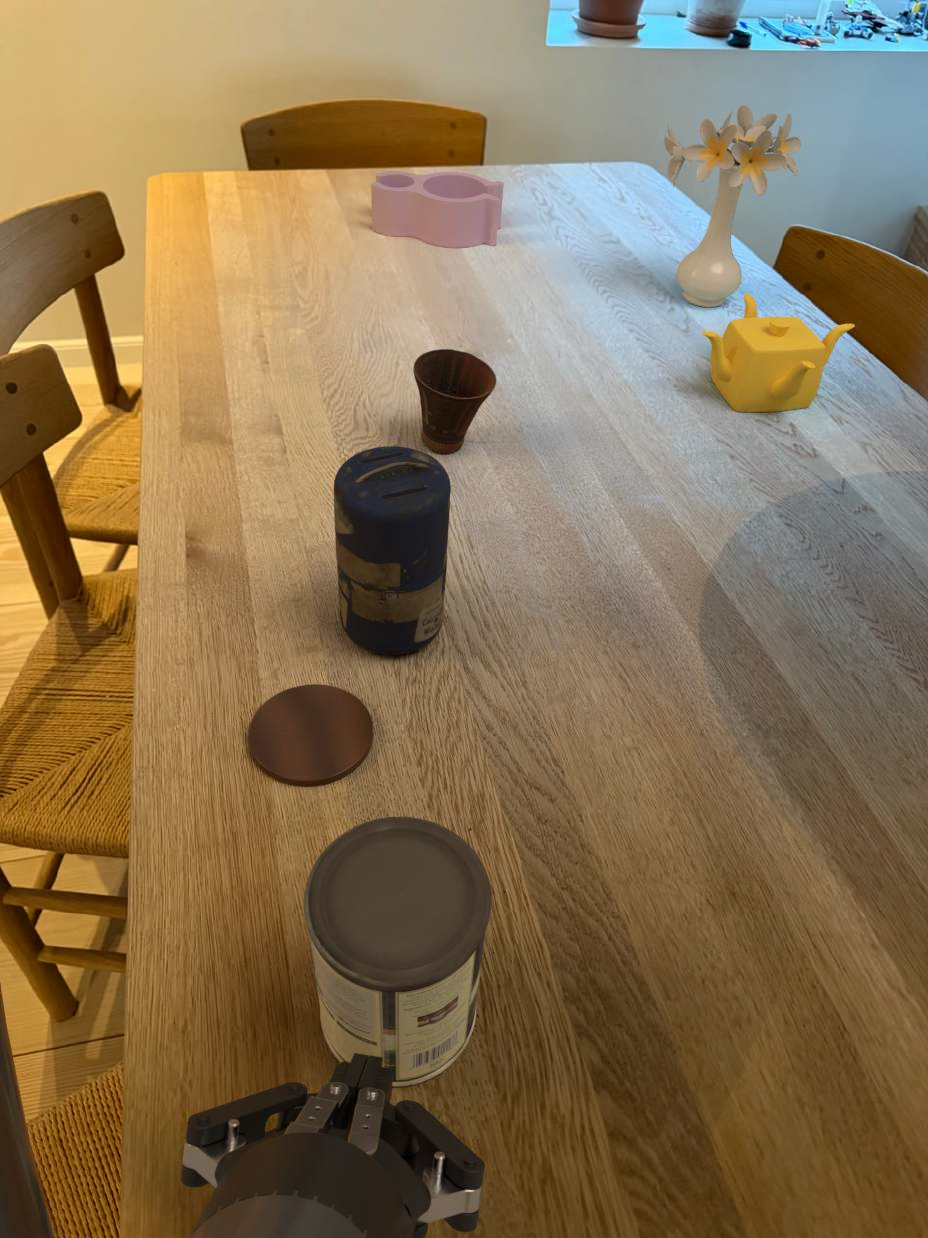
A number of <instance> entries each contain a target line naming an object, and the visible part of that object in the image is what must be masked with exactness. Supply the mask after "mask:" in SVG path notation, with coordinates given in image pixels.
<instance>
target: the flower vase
mask: <svg viewBox="0 0 928 1238" xmlns="http://www.w3.org/2000/svg"><path fill="white" fill-rule="evenodd" d="M732 114H733V110H731V111H730V112H729V114H728V115H727V117H726V118H725V120H724V122H723V123H722V125H721V127H719V129H718V130H717V129H716V126H715V124H714V122H712V120H711V119H709V118H705V119H703V120H702V122H701V123H700V126H699V127H700V128H699V133H700V138H701V141H702V143H703V144H702V143H701V144H700V143H696V144H691V145H688V146H686V147H684V145H683V144H682V143H681V141H679V139H678V138H677V137H676V135H675V134H674V132H673V130H672V128H671V127H670V125H669V124H668V123H667V124H666V128H667V132H668V136H664V139H663V142H664V146H665V149H666V151H667V153H668V154H669V155H670V156H673V157H672V158H671V159H670V160H669V162H668V167H667V178H668V180H670V179H671V178H673V179H672V187H673V188H675V185H676V183H677V180H678V177H679V174H680V172H681V169H682V167H683V165H684V162H685V161H688V162H690V163H691V162H701V163H700V164H698V166H697V169H696V173H695V180H696V182H697V183H703V182H704V181H706V180H707V179H708V178H709V176H710V175H711V173H712V171H713V170H714V168H715V167H716V166H717V167H718V181H717V182H718V184H717V191H716V196H715V200H714V203H713V208H712V212H711V216H710V218H709V222H708V226H707V229H706V231H705V233H704V235H703V237H702V240H701V241H700V242H699V244H698V245H697V247H696V248H694V249H693V250H692V251H691V252H689V253H688V254H686V255H685V256H684V257H683V258H682V260H681V261H680V262H679V264H678V266H677V267H676V270H675V271H676V272H675V278H676V281H677V283H678V286H679V287H680V289H681V290H682V296H683V298H684V300H685V301H687V303H690V304H691V305H694V306H698V307H702V308H715V307H716V308H717V307H719V306H721V305H723V304H724V303H725V302H726V300H727V299H728V298H729V297H730V296H732V295H734V294H735V293H736V292H737V291H738V289H739V288H740V286H741V285H742V281H743V274H742V267H741V265H740V263H739V261H738V260H737V259H736V257H735V255H734V253H733V247H732V232H733V225H734V221H735V215H736V210H737V206H738V201H739V197H740V195H741V191H742V188H743V186H744V183H745V182H746V181H747V180H748V179H749V183H750V186H751V188H752V190H753V192H754V194H756V195H758V196H763V195H765V194H766V192H767V190H768V177H767V175H766V172H775V171H778V170H781V169H784V170H785V171H786V170H787V169H789V171H790V172H791V173H792V174H793V176H795V177H799V170H798V165H797V163H796V160H795V159H794V158H793V157H792V155H795V154H797V153H798V152H799V151H800V150H801V149H802V148H801V147H802V141H801V139H800V138H799V137H798V136H790V133H791V130H792V115H791V113H788V114H787V115H786V117H785V120H784V122H783V125H778V126H779V127H778V130H777V135H773V134H772V131H771V130H769V129H771V127H773V125H774V124H775V123H776V122H777V120H778V119H777V118H778V115H777V114H776V113H774V112H771V113H767V114H764V115H763V116H761V117H759V118H758V119H757V120H756V121H755V119H754V115H753V112H752V109H751V108H750V107H749V106H748V105H746V104H742V105H740V106H739V107H738V108H737V111H736V119H737V123H736V122H732V121H731V118H732ZM754 121H755V122H754ZM789 136H790V137H789ZM774 140H775V141H774ZM732 143H733V144H732ZM731 144H732V145H731ZM730 145H731V146H730ZM729 146H730V149H729ZM765 171H766V172H765Z"/></svg>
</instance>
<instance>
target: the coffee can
mask: <svg viewBox="0 0 928 1238" xmlns="http://www.w3.org/2000/svg"><path fill="white" fill-rule="evenodd" d="M304 888H305V889H304V894H303V914H304V920H305V925H306V928H307V932H308V934H309V940H310V947H311V952H312V959H313V966H314V967H313V968H314V973H315V982H316V989H317V996H318V1003H319V1021H320V1026H321V1030H322V1033H323V1037H324V1039H325V1042H326V1044H327V1046H328V1048H329V1050H330V1052H331V1053H332V1054H333V1056H334V1057H335V1058H336V1059H337V1060H338V1062H339V1063H341V1062H343V1061H344V1062H350V1063H351V1060H352V1058H353V1055H354V1053H358V1054H364V1055H368V1057H369V1055H371V1056H378V1057H383V1065H382V1067H383V1068H390V1069H392V1071H393V1073H394V1076H393V1084H392V1087H408V1086H415V1085H418V1084H420V1083H423V1082H425V1081H426V1082H427V1081H428V1080H431V1079H432V1078H434V1077H436V1076H438V1075H439V1074H441V1073H443V1072H444V1071H445V1070H447V1069H448V1068H449V1067H450V1066H451V1065H452V1064H453V1063H454V1062H455V1061H456V1060H457V1059H458V1058H459V1057H460V1055H462V1053H463V1052H464V1050H465V1049H466V1047H467V1045H468V1043H469V1041H470V1039H471V1037H472V1034H473V1032H474V1028H475V1023H476V1019H477V1009H478V1007H477V1006H478V1004H477V1002H478V994H479V985H480V977H481V968H482V960H483V954H484V946H485V937H486V931H487V929H488V925H489V922H490V916H491V913H492V890H491V884H490V880H489V876H488V874H487V871H486V868H485V866H484V863H483V862H482V860H481V859H480V857H479V855H478V854H477V852H475V850H474V849H473V848H472V846H470V844H468V842H466V840H465V839H464V838H462V837H461V836H460V835H458V834H457V833H455V832H454V831H452V830H450V829H449V828H447V827H446V826H443V825H441V824H438V823H436V822H433V821H431V820H427V819H423V818H419V817H414V816H413V817H412V816H386V817H380V818H376V819H372V820H369V821H366V822H365V821H364V822H363V823H361V824H358V825H355V826H353V827H352V828H349V829H347V830H346V831H344V832H343V833H341V834H340V835H339V836H338V837H336V838H335V839H334V840H333V841H332V842H331V843H329V844H328V845H327V847H326V848H324V850H323V851H322V852H321V853H320V854H319V856H318V858H317V859H316V861H315V862H314V864H313V865H312V867H311V870H310V871H309V874H308V876H307V880H306V883H305V887H304Z"/></svg>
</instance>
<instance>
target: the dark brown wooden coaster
mask: <svg viewBox="0 0 928 1238" xmlns="http://www.w3.org/2000/svg"><path fill="white" fill-rule="evenodd" d="M369 711H370V710H368V707H367V706H366V705H365V703H363V702H362V701H361V700H360V699H359V698H358V697H357V696H355V695H354V694H352V693H351V692H349V691H347V690H346V689H342V688H340V687H337V686H333V685H329V684H328V685H327V684H320V683H319V684H318V683H317V684H316V683H314V684H311V683H310V684H303V685H297V686H294V687H289V688H287V689H285V690H283V691H280V692H278V693H277V694H274V695H272V696H271V697H269V699H268V700H266V701H265V702H263V704H262V705H261V706H260V707H259V708H258V709H257V711H256V712H255V714H254V715H253V717H252V719H251V721H250V724H249V728H248V734H247V735H248V736H247V737H248V747H249V751H250V753H251V757H252V758H253V761H254V762H255V764H256V765H257V767H258V768H259V769H260V770H261V771H262V772H263V773H265V774H266V775H267V776H268V777H271V778H272V779H274V780H276V781H278V782H281V783H283V784H287V785H290V786H296V787H317V786H325V785H328V784H331V783H335V782H337V781H339V780H342V779H343V778H345V777H347V776H348V775H350V774H351V773H353V772H354V771H355V770H356V769H358V767H360V766H361V764H363V762H364V761H365V760H366V758H367V757H368V756H369V754H370V752H371V749H372V746H373V742H374V722H373V719H372V716H371V712H369Z"/></svg>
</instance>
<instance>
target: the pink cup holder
mask: <svg viewBox="0 0 928 1238" xmlns="http://www.w3.org/2000/svg"><path fill="white" fill-rule="evenodd" d="M504 184H505V183H504V182H502V181H498V180H497V181H490V180H488V179H486V178H485V177H482V176H479V175H475V174H471V173H466V172H459V171H441V172H431V173H428V174H427V173H426V174H417V173H411V172H407V171H400V170H399V171H398V170H392V171H391V170H389V171H382V172H378V173H375V181H372V182H371V183H370V193H371V194H370V196H371V199H370V200H371V201H370V202H371V229H372V231H374V232H375V233H376V234H377V233H378V234H380V235H384V236H388V237H396V238H397V237H398V238H399V237H409V238H416V239H418V240H420V241H422V242H423V243H426V244H429V245H432V246H437V247H441V248H451V249H452V248H453V249H462V248H463V249H464V248H470V247H475V246H476V247H477V246H480V245H482V244H483V245H484V244H485V245H488V246H490V247H495V246H496V245H497V243H498V242H497V241H498V240H497V239H498V230H500V229H501V226H502V225H501V223H502V211H503V197H504Z"/></svg>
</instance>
